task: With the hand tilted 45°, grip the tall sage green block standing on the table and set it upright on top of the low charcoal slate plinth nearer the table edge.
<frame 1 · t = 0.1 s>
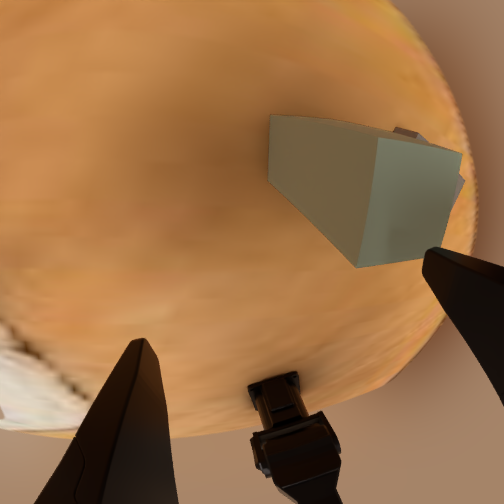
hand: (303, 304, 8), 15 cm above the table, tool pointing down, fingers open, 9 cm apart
slate plinth: (404, 190, 25), on the table
sage green block: (300, 148, 21), on the table
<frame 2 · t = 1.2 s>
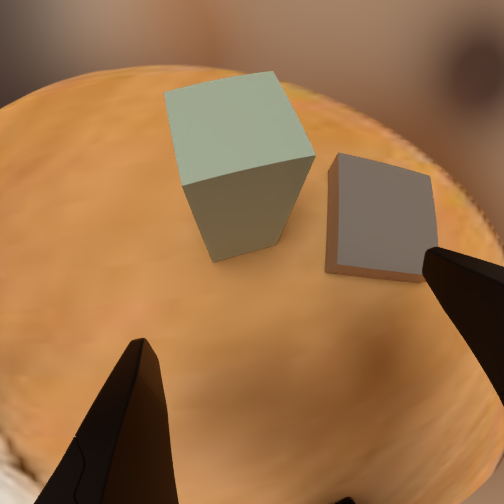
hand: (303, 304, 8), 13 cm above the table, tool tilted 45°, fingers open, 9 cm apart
slate plinth: (376, 226, 23), on the table
sage green block: (235, 223, 23), on the table
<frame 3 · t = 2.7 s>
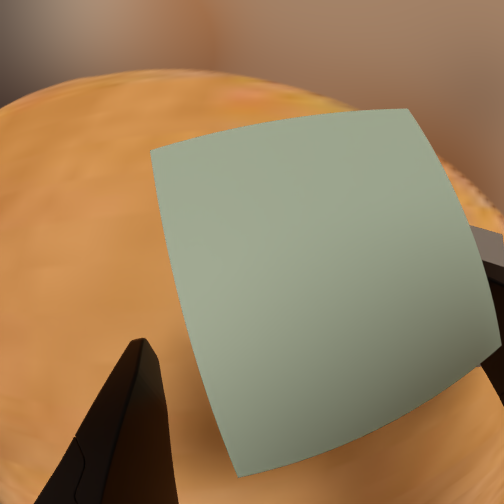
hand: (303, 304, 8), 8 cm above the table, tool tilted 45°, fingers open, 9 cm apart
slate plinth: (441, 300, 16), on the table
sage green block: (270, 311, 16), on the table
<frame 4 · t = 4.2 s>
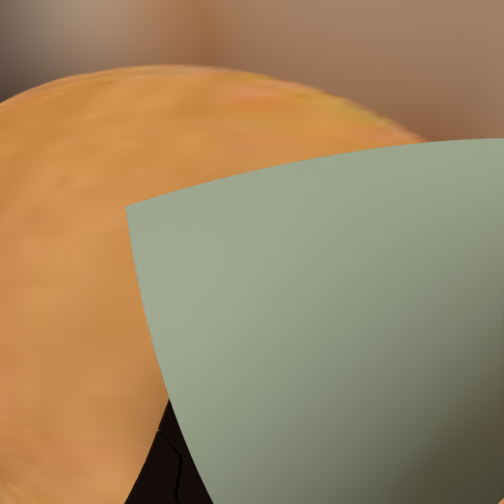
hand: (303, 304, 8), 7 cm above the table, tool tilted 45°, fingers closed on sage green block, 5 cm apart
sage green block: (283, 340, 14), on the table, touching gripper
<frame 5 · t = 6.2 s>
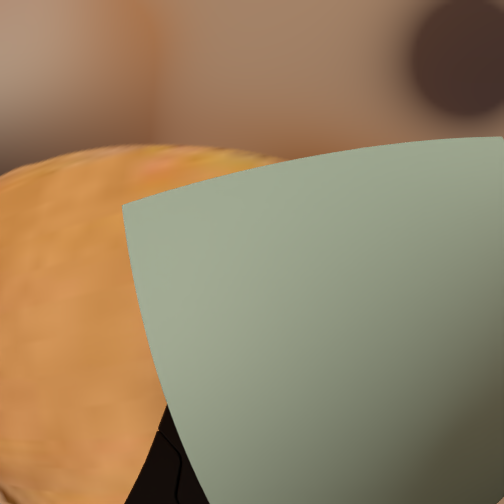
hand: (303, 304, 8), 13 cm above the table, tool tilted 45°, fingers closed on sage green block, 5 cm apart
sage green block: (282, 340, 14), point 7 cm above the table, touching gripper
when the fingers open (11 cm above the table, at t = 8.1 s): sage green block drops 1 cm, resting on slate plinth.
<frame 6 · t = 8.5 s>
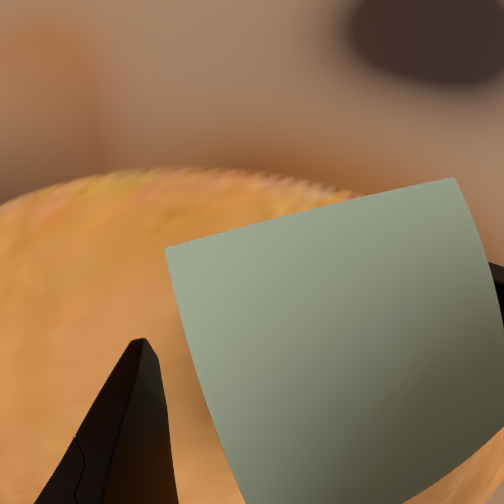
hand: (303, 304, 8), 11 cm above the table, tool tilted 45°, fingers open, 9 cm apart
sage green block: (278, 338, 15), point 3 cm above the table, touching slate plinth
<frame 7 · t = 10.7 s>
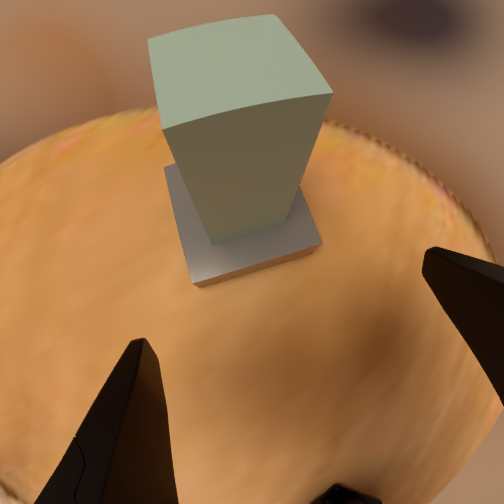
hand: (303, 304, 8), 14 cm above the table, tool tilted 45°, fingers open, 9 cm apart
slate plinth: (239, 216, 23), on the table
sage green block: (237, 201, 20), point 3 cm above the table, touching slate plinth
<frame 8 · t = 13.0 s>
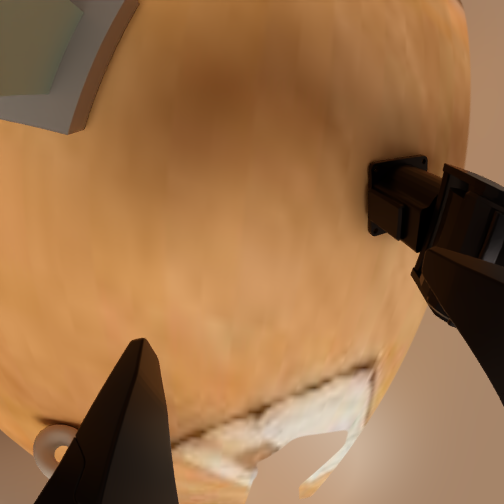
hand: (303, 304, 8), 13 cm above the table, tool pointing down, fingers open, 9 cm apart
donut: (66, 425, 29), on the table
slate plinth: (52, 53, 11), on the table
sage green block: (31, 47, 9), point 3 cm above the table, touching slate plinth
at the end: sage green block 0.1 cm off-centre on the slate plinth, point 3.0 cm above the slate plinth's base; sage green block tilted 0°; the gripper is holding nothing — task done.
